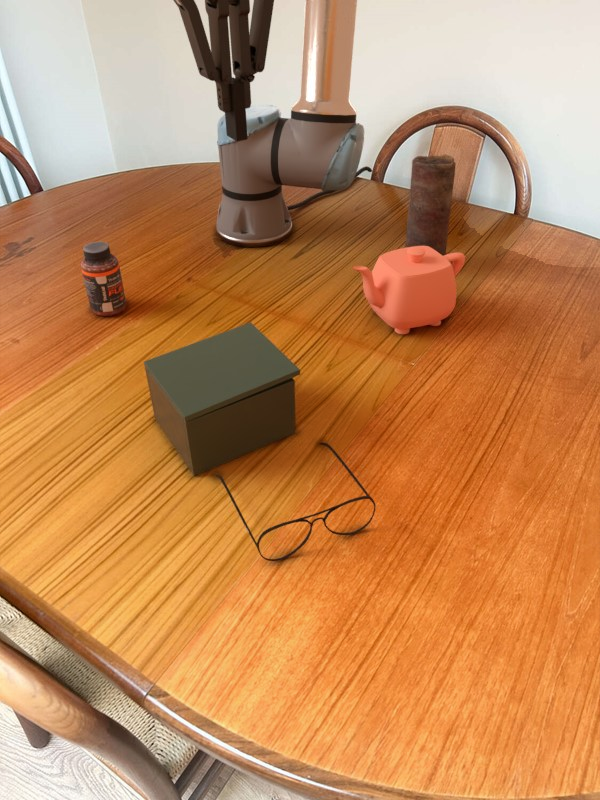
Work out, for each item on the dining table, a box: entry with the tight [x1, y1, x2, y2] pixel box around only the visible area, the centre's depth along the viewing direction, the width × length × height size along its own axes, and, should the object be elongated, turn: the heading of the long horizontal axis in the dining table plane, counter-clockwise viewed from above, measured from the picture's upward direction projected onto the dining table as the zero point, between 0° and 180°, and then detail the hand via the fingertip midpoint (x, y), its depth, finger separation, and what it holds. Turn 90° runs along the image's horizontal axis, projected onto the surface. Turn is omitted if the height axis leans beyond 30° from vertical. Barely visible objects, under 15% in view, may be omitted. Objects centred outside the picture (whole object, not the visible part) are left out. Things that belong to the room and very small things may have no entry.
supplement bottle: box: [80, 241, 127, 317], centre depth 107 cm, size 6×6×11 cm
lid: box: [143, 322, 301, 422], centre depth 81 cm, size 15×13×1 cm
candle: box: [404, 153, 457, 256], centre depth 114 cm, size 8×7×20 cm
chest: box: [144, 366, 296, 477], centre depth 84 cm, size 15×13×9 cm
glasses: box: [215, 442, 376, 562], centre depth 76 cm, size 14×15×5 cm
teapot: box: [352, 246, 466, 335], centre depth 104 cm, size 20×12×12 cm, turn 114°
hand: (237, 137), depth 81 cm, fingers closed
